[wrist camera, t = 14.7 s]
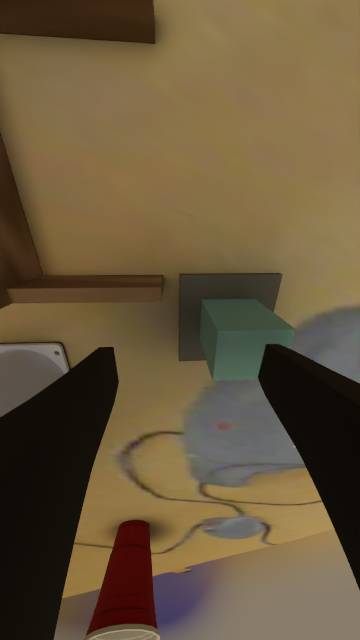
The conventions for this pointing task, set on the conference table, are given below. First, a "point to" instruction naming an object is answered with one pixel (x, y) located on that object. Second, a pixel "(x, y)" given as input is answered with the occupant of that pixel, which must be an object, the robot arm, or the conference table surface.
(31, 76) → the conference table surface
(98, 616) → the plastic cup
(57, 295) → the wooden fixture
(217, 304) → the block
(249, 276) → the mat
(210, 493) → the conference table surface
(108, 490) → the conference table surface
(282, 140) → the conference table surface
